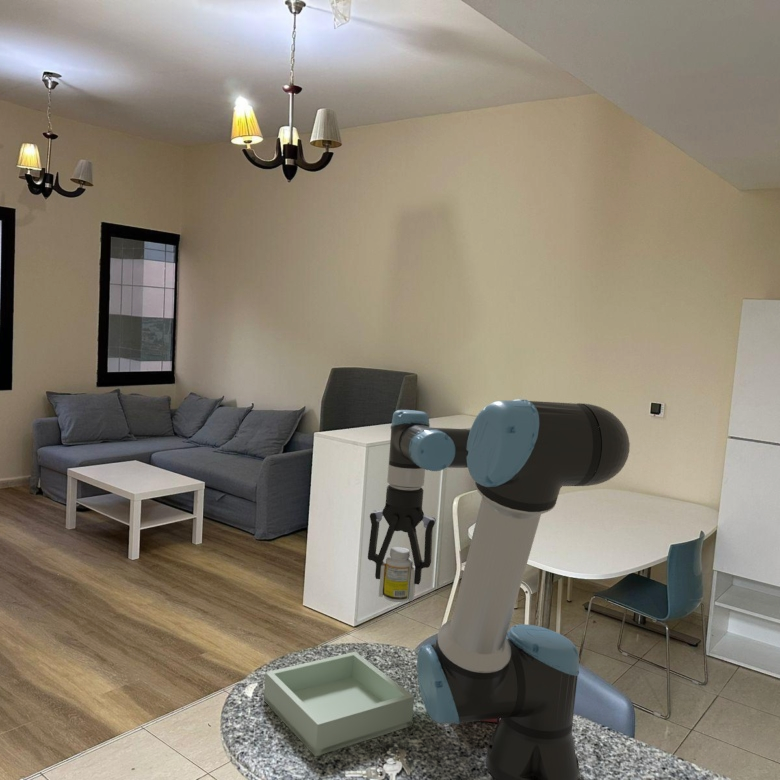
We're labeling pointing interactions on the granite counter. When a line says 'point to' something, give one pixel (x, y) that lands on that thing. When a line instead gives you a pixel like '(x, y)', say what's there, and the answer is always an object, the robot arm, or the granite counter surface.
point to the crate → (337, 702)
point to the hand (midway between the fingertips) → (396, 596)
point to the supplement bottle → (397, 575)
